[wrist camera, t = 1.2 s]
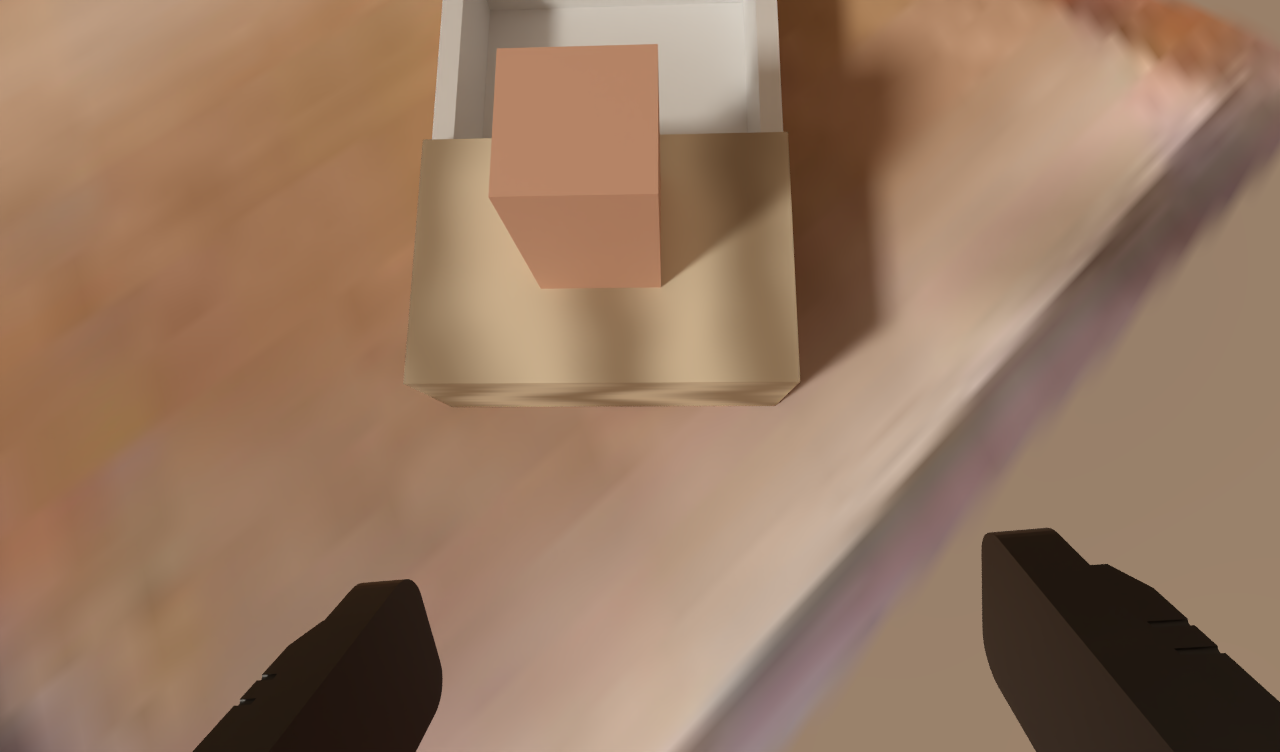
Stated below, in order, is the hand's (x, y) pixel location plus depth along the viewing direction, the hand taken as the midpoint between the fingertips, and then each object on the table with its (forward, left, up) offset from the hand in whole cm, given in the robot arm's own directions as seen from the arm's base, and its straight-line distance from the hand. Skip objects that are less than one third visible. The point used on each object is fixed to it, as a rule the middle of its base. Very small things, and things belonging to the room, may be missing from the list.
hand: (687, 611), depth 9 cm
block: (-3, +13, -16) cm, 20 cm away
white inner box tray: (-3, +24, -22) cm, 32 cm away
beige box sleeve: (-3, +12, -22) cm, 25 cm away
